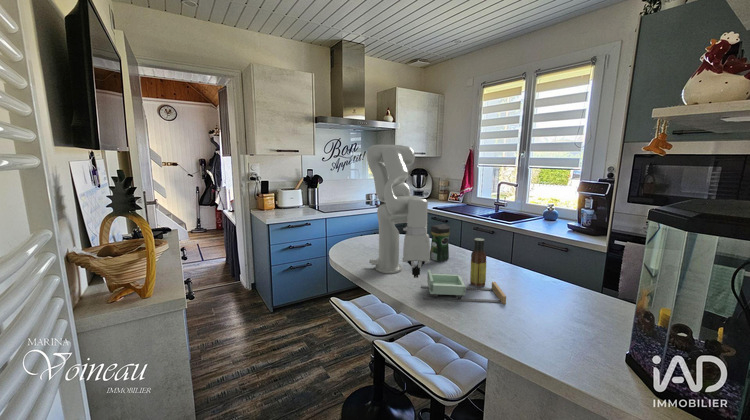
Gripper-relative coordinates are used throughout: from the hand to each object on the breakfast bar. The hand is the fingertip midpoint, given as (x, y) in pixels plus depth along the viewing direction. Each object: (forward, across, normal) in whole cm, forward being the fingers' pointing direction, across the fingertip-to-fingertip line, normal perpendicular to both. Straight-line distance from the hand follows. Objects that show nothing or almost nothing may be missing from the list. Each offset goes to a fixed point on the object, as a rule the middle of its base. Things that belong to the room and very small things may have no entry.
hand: (415, 276), depth 118 cm
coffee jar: (+6, +15, +41) cm, 44 cm away
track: (+7, +18, +1) cm, 19 cm away
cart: (+7, +12, +1) cm, 14 cm away
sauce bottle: (+7, +27, +11) cm, 30 cm away
